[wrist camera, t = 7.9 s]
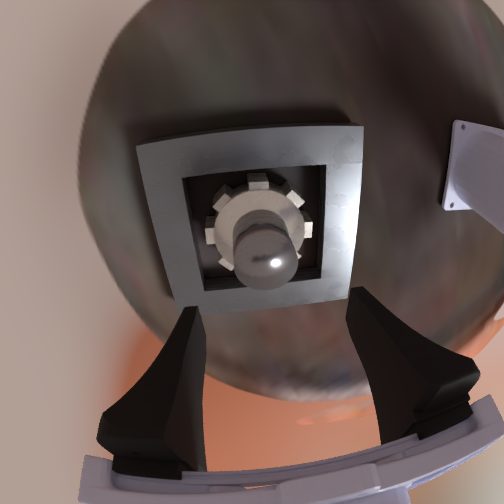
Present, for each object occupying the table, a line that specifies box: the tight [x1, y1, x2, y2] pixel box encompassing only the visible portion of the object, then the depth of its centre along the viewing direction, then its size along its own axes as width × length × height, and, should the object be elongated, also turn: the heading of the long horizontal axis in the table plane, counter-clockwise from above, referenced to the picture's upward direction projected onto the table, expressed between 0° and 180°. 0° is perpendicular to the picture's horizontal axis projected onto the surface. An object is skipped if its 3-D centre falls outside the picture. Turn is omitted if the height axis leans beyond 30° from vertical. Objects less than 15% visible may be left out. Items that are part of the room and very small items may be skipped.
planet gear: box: [205, 173, 313, 290], centre depth 19 cm, size 7×7×6 cm
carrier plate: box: [136, 122, 364, 315], centre depth 21 cm, size 14×14×2 cm
